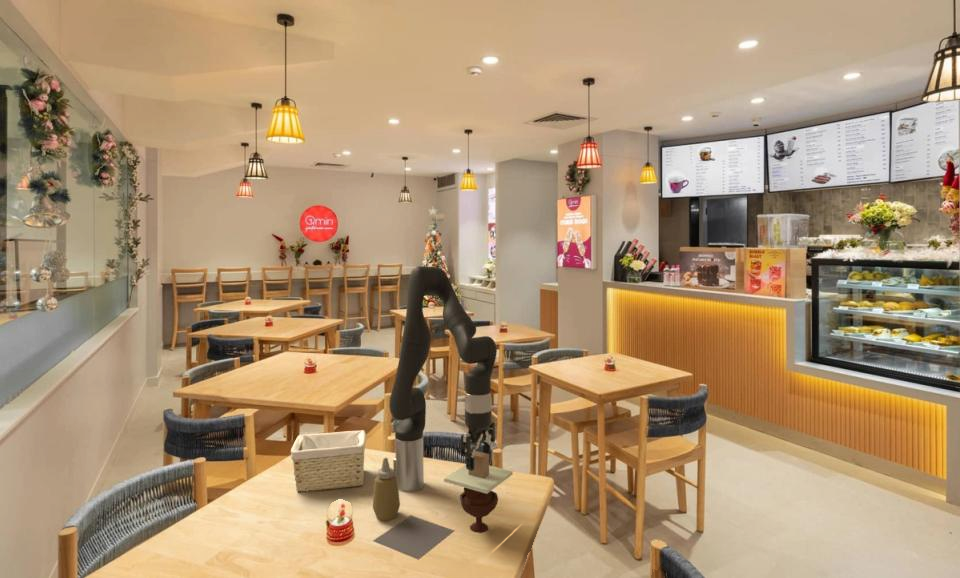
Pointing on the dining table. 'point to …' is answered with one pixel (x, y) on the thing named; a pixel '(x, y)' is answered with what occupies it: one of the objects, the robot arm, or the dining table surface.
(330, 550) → the dining table surface
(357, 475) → the storage basket
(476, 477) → the cover
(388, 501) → the squeeze bottle
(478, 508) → the ice cream bowl
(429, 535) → the mat
